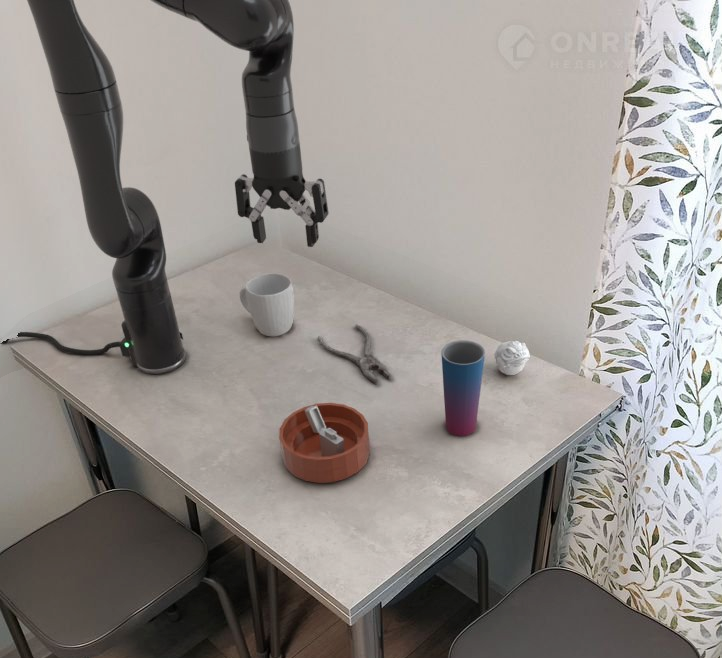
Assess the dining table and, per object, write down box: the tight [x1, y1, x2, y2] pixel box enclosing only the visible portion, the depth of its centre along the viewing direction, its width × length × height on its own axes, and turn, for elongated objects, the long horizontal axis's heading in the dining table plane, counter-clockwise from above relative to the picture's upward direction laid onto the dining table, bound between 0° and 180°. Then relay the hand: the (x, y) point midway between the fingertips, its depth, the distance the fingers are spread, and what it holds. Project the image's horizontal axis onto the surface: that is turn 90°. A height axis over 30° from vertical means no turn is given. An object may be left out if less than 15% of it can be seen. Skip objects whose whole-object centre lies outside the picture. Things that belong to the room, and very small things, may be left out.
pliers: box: [317, 323, 391, 385], centre depth 154 cm, size 10×1×20 cm
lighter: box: [305, 405, 345, 457], centre depth 130 cm, size 7×2×8 cm, turn 45°
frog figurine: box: [494, 340, 531, 376], centre depth 145 cm, size 6×7×7 cm
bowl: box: [278, 402, 371, 484], centre depth 131 cm, size 14×14×6 cm
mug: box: [239, 272, 295, 337], centre depth 161 cm, size 13×9×10 cm
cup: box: [440, 339, 486, 437], centre depth 132 cm, size 7×7×15 cm
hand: (286, 242), depth 130 cm, fingers open, 8 cm apart
